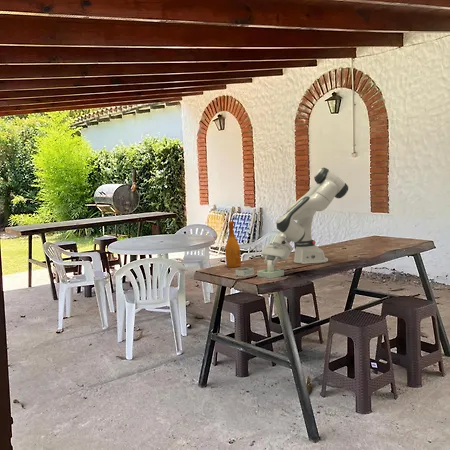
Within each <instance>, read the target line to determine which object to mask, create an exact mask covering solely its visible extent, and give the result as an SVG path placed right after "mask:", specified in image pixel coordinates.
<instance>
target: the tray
mask: <svg viewBox="0 0 450 450" xmlns="http://www.w3.org/2000/svg"><path fill="white" fill-rule="evenodd" d="M256 272H257V277H259V278H265V279H273V278H278V277H284V276H285V270H284V269H280V268H274V272H271V273H268V272H267V268H266V269H260V270H257V271H256Z"/></svg>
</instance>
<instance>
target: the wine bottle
mask: <svg viewBox="0 0 450 450" xmlns="http://www.w3.org/2000/svg"><path fill="white" fill-rule="evenodd" d="M227 224H228V229H229V230H228V232H229V233H228V238H227V241H226V243H225V244H226V245H225V248H224V249H225V251H224V252H225V261H226V266H227V267H228V268H239V267H241V265H242V261H241V260H242V257H241V247H240V244H239V242H238V238H237V236H236V235H235V233H234V222H233V221H228V223H227Z"/></svg>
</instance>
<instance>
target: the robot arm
mask: <svg viewBox="0 0 450 450" xmlns="http://www.w3.org/2000/svg"><path fill="white" fill-rule="evenodd" d="M313 179H314V181H315V184H314V185H313V186H312V187H311V188H310V189H309V190H308V191H307V192H306V193H305V194H304V195H302V196H301V197H300V198H299V199H297V200H296V201H294V202H293V203H292V204H290V205H289V206H288V207H287V208H286V212H285V213H284V214H283V215H281V216H280V217H279V218H278V219H277V220H276V223H275V224H276V229H277V230H278V231H279V232H278V234H277V235H276V237H275V238H274V240H273V241H272V243H269V244H266V245H265V247H264V248H263V249H262V251H261V256H262V257H263V258H264V260H263V263H264V264H267V257H274V261H272V264H273V265H274V266H275V265H276V263H277V262H279V261H280V260H284V261H286V260H288V258H289V257H290V255H291V253H292V251H293V250H294V258H293V263H295V264H302V265H304V264H306V265H308V264H319V263H327V262H329V258H328V257H326V256H325V253H324V252H325V251H324V250H322V249H321V248H320V247H318V246H317V245H316V241H315V240H314V239H312V226H313V225H312V224H313V219H314V216H315V215H316V212H323V211H325V210H326V209H327V208H328V207H329V205H330V204H331V203H332V201H333V200H334V198H335V199H342V198H343V197H345V196H346V195H347V193H348V191H349V185H348V184H347V183H346V182H344V180H342V179H341V178H340V177H339V175H337V174H335V173H334V172H332V171H331V170H330V169H328V168H327V167H321V168H319V169H318V170H316V172H315V174H314V178H313ZM291 242H292V243H293V246H294V247H293V246H292V245H291Z"/></svg>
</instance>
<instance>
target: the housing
mask: <svg viewBox="0 0 450 450" xmlns="http://www.w3.org/2000/svg"><path fill="white" fill-rule="evenodd" d="M237 275H238V277H242V276H243V277H244V278H246V277H250V276H254V275H255V269H254V268H252V267H251V268H250V267H247V266H246V267H241V268H237V269H235V276H237Z"/></svg>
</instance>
